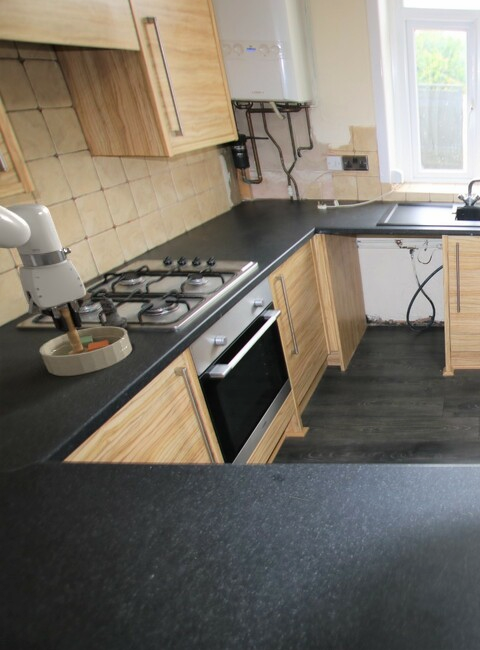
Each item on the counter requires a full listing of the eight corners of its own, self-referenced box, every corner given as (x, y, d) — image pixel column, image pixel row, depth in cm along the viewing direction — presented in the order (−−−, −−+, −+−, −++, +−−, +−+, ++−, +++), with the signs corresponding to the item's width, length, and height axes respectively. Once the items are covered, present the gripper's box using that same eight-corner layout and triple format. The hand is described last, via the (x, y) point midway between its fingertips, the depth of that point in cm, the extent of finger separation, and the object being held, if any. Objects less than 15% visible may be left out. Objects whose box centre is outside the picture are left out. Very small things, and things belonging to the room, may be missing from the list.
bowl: (45, 385, 113) (36, 363, 110) (50, 357, 125) (42, 336, 123) (134, 364, 123) (128, 344, 120) (131, 340, 135) (125, 321, 133)
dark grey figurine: (107, 339, 135) (90, 301, 130) (106, 332, 139) (89, 295, 134) (132, 333, 138) (117, 296, 133) (130, 325, 142) (115, 289, 137)
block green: (76, 358, 123) (71, 344, 122) (77, 352, 126) (72, 339, 124) (96, 354, 126) (91, 340, 124) (96, 348, 128) (91, 335, 127)
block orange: (93, 363, 121) (88, 349, 120) (93, 357, 124) (88, 343, 122) (112, 359, 123) (108, 345, 122) (112, 353, 126) (107, 339, 125)
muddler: (70, 363, 118) (51, 312, 113) (71, 357, 121) (52, 307, 116) (91, 359, 121) (73, 309, 115) (91, 352, 124) (73, 303, 118)
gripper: (73, 247, 119) (96, 314, 126) (-10, 265, 105) (21, 338, 112) (92, 251, 116) (114, 319, 123) (9, 269, 102) (40, 345, 110)
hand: (70, 328), depth 118 cm, fingers closed on muddler, 2 cm apart
